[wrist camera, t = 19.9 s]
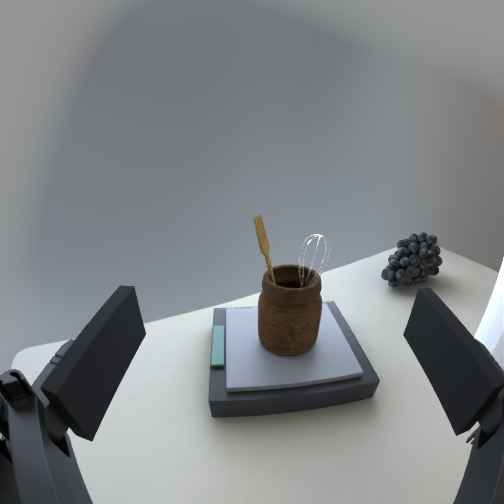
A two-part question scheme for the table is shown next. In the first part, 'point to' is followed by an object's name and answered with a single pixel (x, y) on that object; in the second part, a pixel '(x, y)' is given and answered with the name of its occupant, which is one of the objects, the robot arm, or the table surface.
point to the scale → (284, 367)
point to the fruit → (413, 260)
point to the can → (494, 322)
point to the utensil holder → (288, 303)
